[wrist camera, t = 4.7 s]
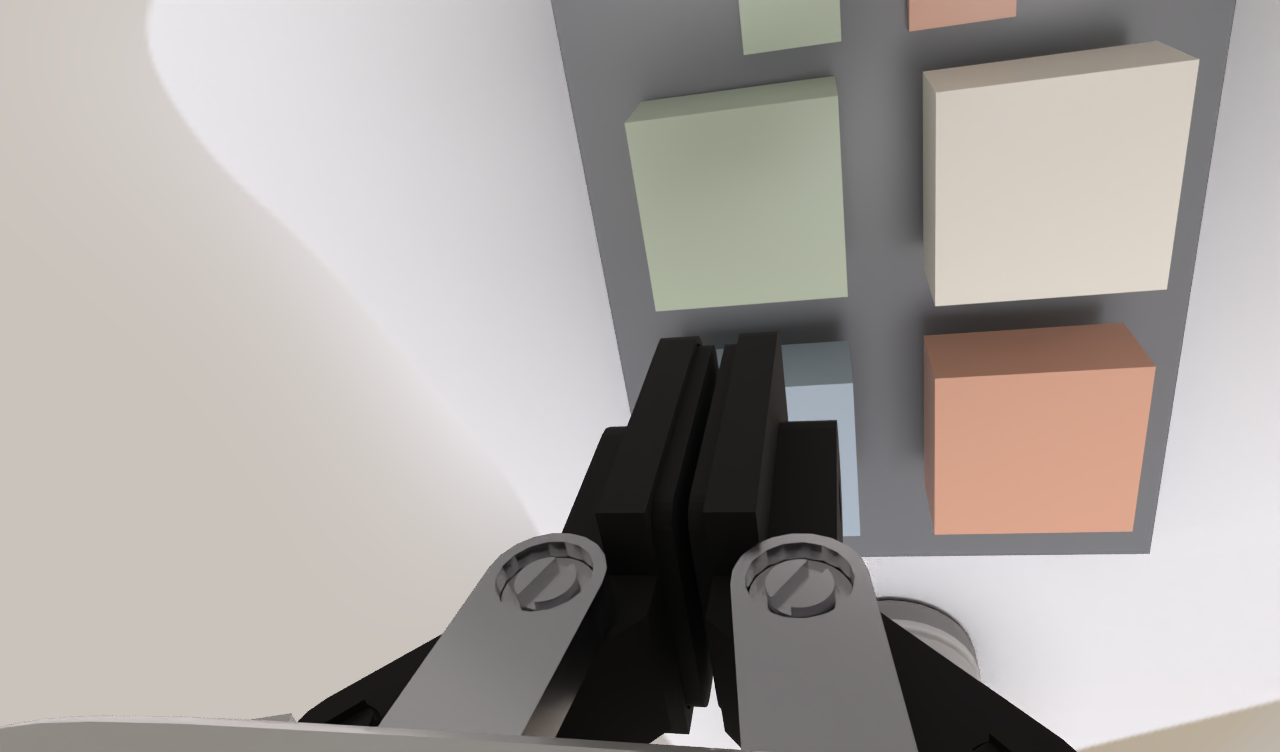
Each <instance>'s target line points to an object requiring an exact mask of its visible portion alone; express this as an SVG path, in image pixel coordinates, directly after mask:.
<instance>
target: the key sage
mask: <svg viewBox="0 0 1280 752" xmlns="http://www.w3.org/2000/svg"><path fill="white" fill-rule="evenodd" d="M625 129H626V135H627V141H628V147H629V153H630V159H631V165H632V171H633V177H634V183H635V189H636V195H637V201H638V207H639V213H640V219H641V225H642V231H643V237H644V243H645V250H646V256H647V262H648V268H649V274H650V280H651V286H652V292H653V298H654V304H655V310H656V311H669V310H682V309H695V308H708V307H721V306H734V305H747V304H760V303H773V302H786V301H799V300H812V299H825V298H838V297H848V290H847V270H846V249H845V229H844V209H843V188H842V168H841V148H840V128H839V107H838V93H837V86H836V80H835V76H829V77H821V78H814V79H806V80H799V81H791V82H784V83H776V84H769V85H761V86H754V87H746V88H739V89H731V90H724V91H716V92H709V93H701V94H694V95H687V96H679V97H672V98H664V99H657V100H649V101H642V102H640V104H639V105H638V106H637V107H636V109H635V110H634V111H633V113H632V114H631V115H630V117H629V118H628V119H627V120H626V122H625Z"/></svg>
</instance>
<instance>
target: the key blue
mask: <svg viewBox="0 0 1280 752" xmlns="http://www.w3.org/2000/svg"><path fill="white" fill-rule="evenodd" d="M781 347H782V358H783V369H784V380H785V391H786V401H787V412H788V421H817V420H837V424H838V438H839V454H840V471H841V491H842V518H843V536H860V518H859V497H858V477H857V456H856V436H855V415H854V395H853V379H852V368H851V358H850V347H849V341H835V342H820V343H804V344H789V345H781ZM723 350H724V349H716V353H717V359H718V366H719V367H720V363H721V359H722V354H723Z"/></svg>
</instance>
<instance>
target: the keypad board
mask: <svg viewBox="0 0 1280 752" xmlns="http://www.w3.org/2000/svg"><path fill="white" fill-rule="evenodd" d="M551 3H552V8H553V14H554V19H555V24H556V29H557V34H558V39H559V45H560V50H561V55H562V60H563V65H564V70H565V76H566V81H567V86H568V91H569V96H570V101H571V107H572V112H573V117H574V122H575V127H576V132H577V138H578V143H579V148H580V153H581V158H582V164H583V169H584V174H585V179H586V184H587V189H588V195H589V200H590V205H591V210H592V215H593V220H594V226H595V231H596V236H597V241H598V246H599V251H600V257H601V262H602V267H603V272H604V277H605V282H606V288H607V293H608V298H609V303H610V308H611V313H612V319H613V324H614V329H615V334H616V339H617V344H618V350H619V355H620V360H621V365H622V370H623V375H624V381H625V386H626V391H627V396H628V401H629V406H630V412H631V415H632V412H633V409H634V407H635V404H636V401H637V399H638V396H639V393H640V391H641V388H642V385H643V383H644V380H645V377H646V375H647V372H648V369H649V367H650V364H651V361H652V358H653V356H654V353H655V350H656V348H657V345H658V342H659V340H660V339H661V338H672V337H690V336H699V337H700V338H701V341H702V345H703V346H706V345H714V346H715V348H716V349H724V346H725V344H737V342H738V337H739V334H743V333H760V332H778V331H779V334H780V339H781V345H789V344H804V343H820V342H835V341H849V347H850V358H851V368H852V379H853V395H854V415H855V436H856V456H857V477H858V497H859V518H860V536H843V544H845V545H847V546H849V547H850V548H851V549H852V550H853V551H855V552H856V553H857V554H858V555H859V556H860V557H888V556H981V555H1074V554H1150V547H1151V541H1152V535H1153V528H1154V522H1155V516H1156V509H1157V503H1158V496H1159V490H1160V484H1161V477H1162V471H1163V464H1164V458H1165V452H1166V445H1167V439H1168V432H1169V426H1170V420H1171V413H1172V407H1173V400H1174V394H1175V388H1176V381H1177V375H1178V368H1179V362H1180V356H1181V349H1182V343H1183V337H1184V330H1185V324H1186V317H1187V311H1188V305H1189V298H1190V292H1191V285H1192V279H1193V273H1194V266H1195V260H1196V253H1197V247H1198V241H1199V234H1200V228H1201V221H1202V215H1203V209H1204V202H1205V196H1206V189H1207V183H1208V177H1209V170H1210V164H1211V157H1212V151H1213V145H1214V138H1215V132H1216V126H1217V119H1218V113H1219V106H1220V100H1221V94H1222V87H1223V81H1224V74H1225V68H1226V62H1227V55H1228V49H1229V42H1230V36H1231V30H1232V23H1233V17H1234V10H1235V4H1236V0H551ZM1151 41H1159V42H1161V43H1163V44H1166V45H1168V46H1170V47H1173V48H1175V49H1177V50H1179V51H1182V52H1184V53H1186V54H1189V55H1191V56H1193V57H1195V58H1198V59H1200V60H1199V67H1198V74H1197V81H1196V88H1195V95H1194V102H1193V109H1192V116H1191V123H1190V130H1189V137H1188V144H1187V151H1186V158H1185V166H1184V173H1183V180H1182V187H1181V194H1180V201H1179V208H1178V215H1177V222H1176V229H1175V236H1174V243H1173V250H1172V257H1171V264H1170V271H1169V278H1168V285H1167V289H1166V290H1152V291H1139V292H1125V293H1111V294H1097V295H1084V296H1070V297H1056V298H1043V299H1029V300H1015V301H1002V302H988V303H974V304H960V305H947V306H935V304H934V301H933V298H932V294H931V291H930V288H929V285H928V281H927V278H926V275H925V272H924V268H923V72H924V71H931V70H939V69H946V68H954V67H962V66H969V65H977V64H984V63H992V62H1000V61H1007V60H1015V59H1022V58H1030V57H1038V56H1045V55H1053V54H1060V53H1068V52H1076V51H1083V50H1091V49H1098V48H1106V47H1113V46H1121V45H1129V44H1136V43H1144V42H1151ZM829 76H835V80H836V86H837V93H838V107H839V128H840V148H841V168H842V188H843V209H844V229H845V249H846V270H847V290H848V297H838V298H825V299H812V300H799V301H786V302H773V303H760V304H747V305H734V306H721V307H708V308H695V309H682V310H669V311H656V310H655V304H654V298H653V292H652V286H651V280H650V274H649V268H648V262H647V256H646V250H645V243H644V237H643V231H642V225H641V219H640V213H639V207H638V201H637V195H636V189H635V183H634V177H633V171H632V165H631V159H630V153H629V147H628V141H627V135H626V129H625V122H626V120H627V119H628V118H629V117H630V115H631V114H632V113H633V111H634V110H635V109H636V107H637V106H638V105H639V104H640V102H642V101H649V100H657V99H664V98H672V97H679V96H687V95H694V94H701V93H709V92H716V91H724V90H731V89H739V88H746V87H754V86H761V85H769V84H776V83H784V82H791V81H799V80H806V79H814V78H821V77H829ZM1123 322H1124V324H1125V325H1126V326H1127V328H1128V329H1129V330H1130V332H1131V333H1132V335H1133V336H1134V337H1135V339H1136V340H1137V341H1138V343H1139V344H1140V345H1141V347H1142V348H1143V350H1144V351H1145V352H1146V354H1147V355H1148V356H1149V358H1150V359H1151V361H1152V362H1153V363H1154V365H1155V366H1156V370H1155V377H1154V384H1153V391H1152V398H1151V405H1150V412H1149V419H1148V426H1147V433H1146V440H1145V447H1144V454H1143V461H1142V468H1141V475H1140V482H1139V489H1138V496H1137V503H1136V510H1135V518H1134V525H1133V532H1072V533H1010V534H948V535H934V530H933V525H932V520H931V515H930V510H929V505H928V500H927V495H926V490H925V485H924V336H926V335H941V334H956V333H971V332H987V331H1002V330H1017V329H1032V328H1047V327H1063V326H1078V325H1093V324H1108V323H1123Z"/></svg>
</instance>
